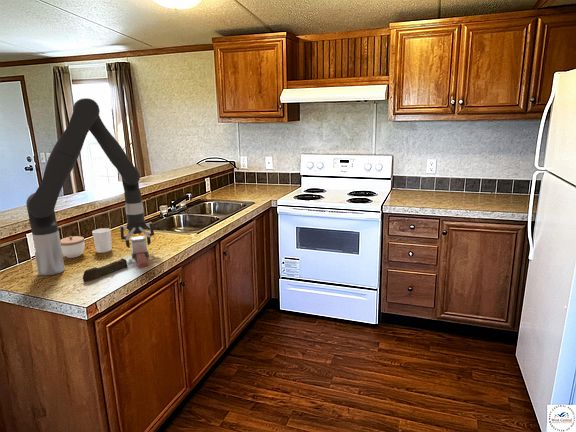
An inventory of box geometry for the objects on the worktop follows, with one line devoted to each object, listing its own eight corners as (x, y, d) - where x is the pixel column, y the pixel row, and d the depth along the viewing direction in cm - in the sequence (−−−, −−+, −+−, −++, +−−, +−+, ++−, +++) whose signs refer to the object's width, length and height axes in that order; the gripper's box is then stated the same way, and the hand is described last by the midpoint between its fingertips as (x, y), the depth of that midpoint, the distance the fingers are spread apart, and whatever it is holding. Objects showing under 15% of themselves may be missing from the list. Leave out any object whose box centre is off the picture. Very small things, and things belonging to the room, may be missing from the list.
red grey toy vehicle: (134, 268, 168) (133, 257, 167) (131, 253, 187) (130, 243, 186) (152, 265, 171) (151, 254, 170) (146, 251, 190) (145, 241, 188)
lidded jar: (82, 258, 181) (79, 238, 179) (56, 260, 179) (53, 240, 177) (89, 250, 191) (86, 232, 189) (65, 252, 190) (62, 233, 187)
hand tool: (122, 266, 172) (121, 256, 171) (128, 267, 170) (127, 257, 169) (79, 281, 157) (78, 270, 156) (85, 283, 155) (83, 272, 153)
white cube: (133, 253, 181) (131, 240, 179) (132, 249, 186) (130, 237, 185) (147, 251, 183) (145, 239, 182) (145, 247, 189) (144, 235, 187)
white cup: (109, 246, 197) (106, 227, 194) (115, 250, 191) (113, 230, 189) (92, 250, 192) (89, 230, 189) (98, 254, 186) (95, 234, 184)
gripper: (118, 215, 174) (122, 250, 178) (152, 211, 180) (155, 246, 184) (117, 212, 180) (121, 246, 185) (150, 208, 186) (153, 241, 190)
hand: (138, 246), depth 184 cm, fingers open, 8 cm apart
